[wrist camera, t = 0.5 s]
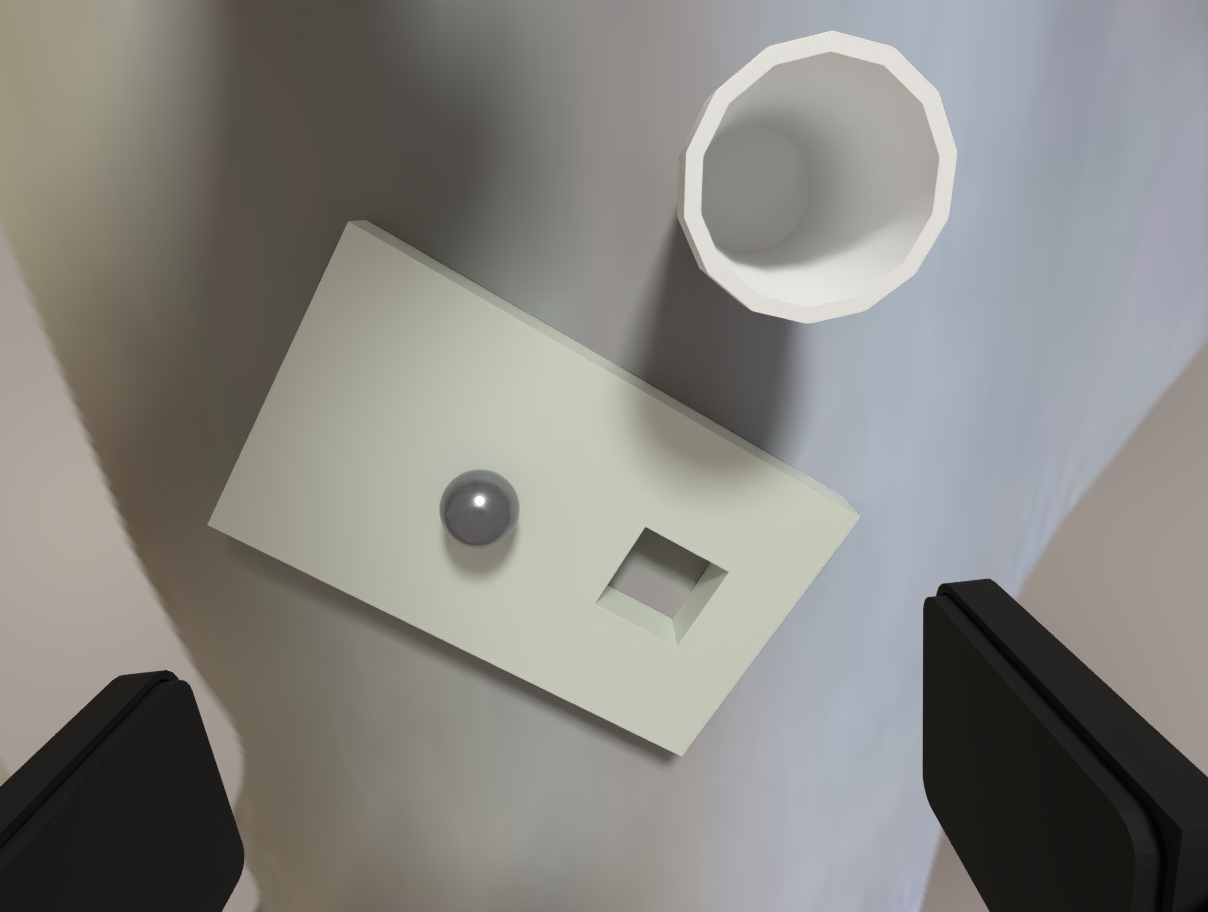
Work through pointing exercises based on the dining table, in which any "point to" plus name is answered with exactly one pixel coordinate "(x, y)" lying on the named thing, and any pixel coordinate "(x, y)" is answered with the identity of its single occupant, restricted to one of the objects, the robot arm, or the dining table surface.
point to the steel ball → (479, 509)
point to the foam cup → (817, 177)
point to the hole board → (520, 492)
